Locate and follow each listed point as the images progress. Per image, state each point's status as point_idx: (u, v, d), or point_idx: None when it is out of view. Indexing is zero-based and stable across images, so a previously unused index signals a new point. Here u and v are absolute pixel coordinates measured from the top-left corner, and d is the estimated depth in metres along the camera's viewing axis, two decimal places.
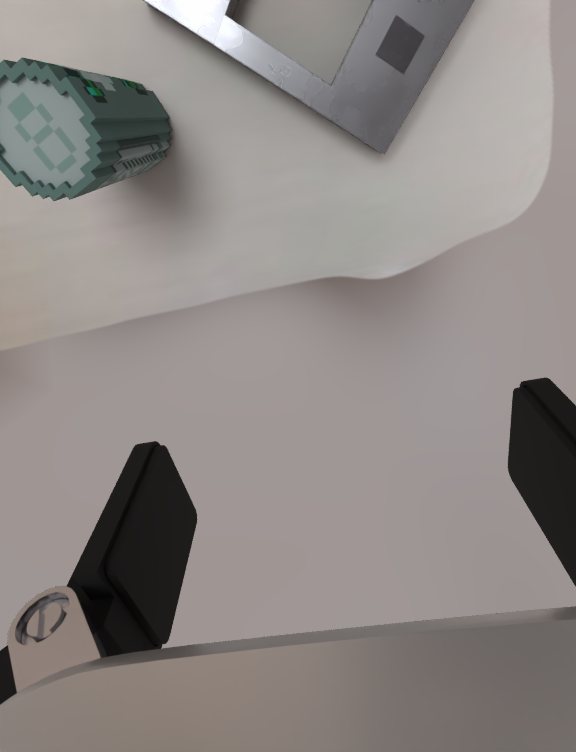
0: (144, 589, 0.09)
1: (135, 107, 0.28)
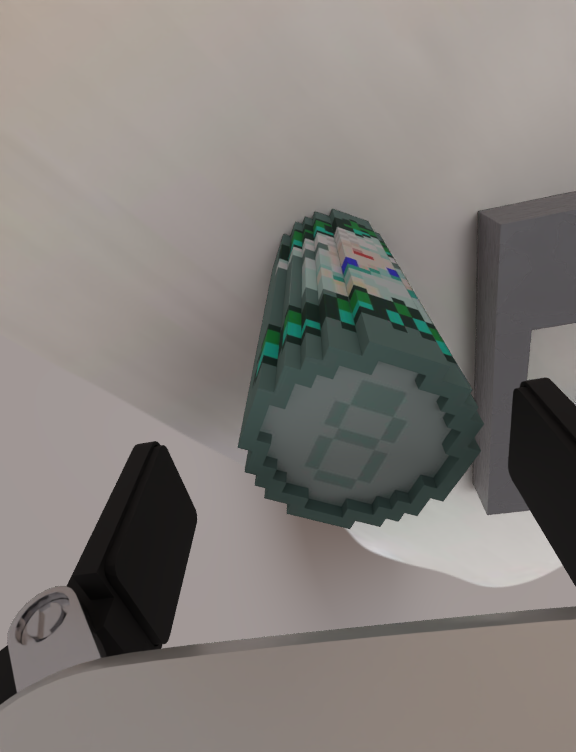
0: (144, 589, 0.09)
1: None
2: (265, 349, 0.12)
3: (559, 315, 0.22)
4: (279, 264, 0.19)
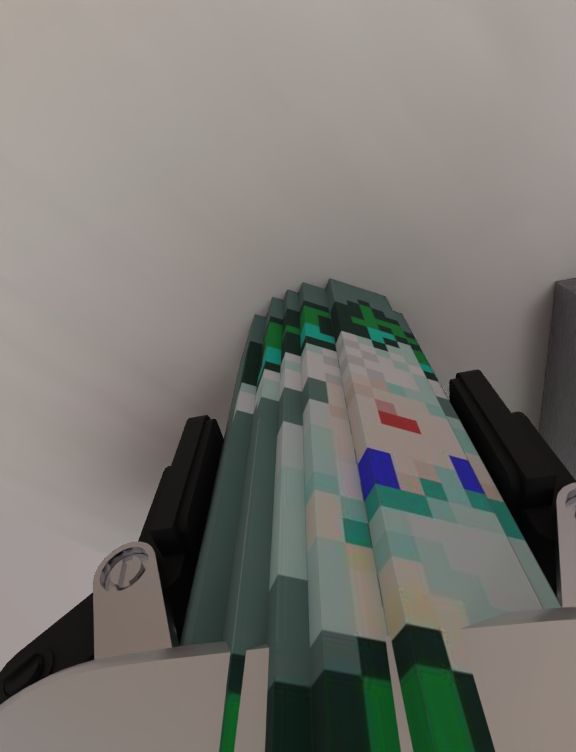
0: None
1: None
2: None
3: None
4: (240, 400, 0.10)
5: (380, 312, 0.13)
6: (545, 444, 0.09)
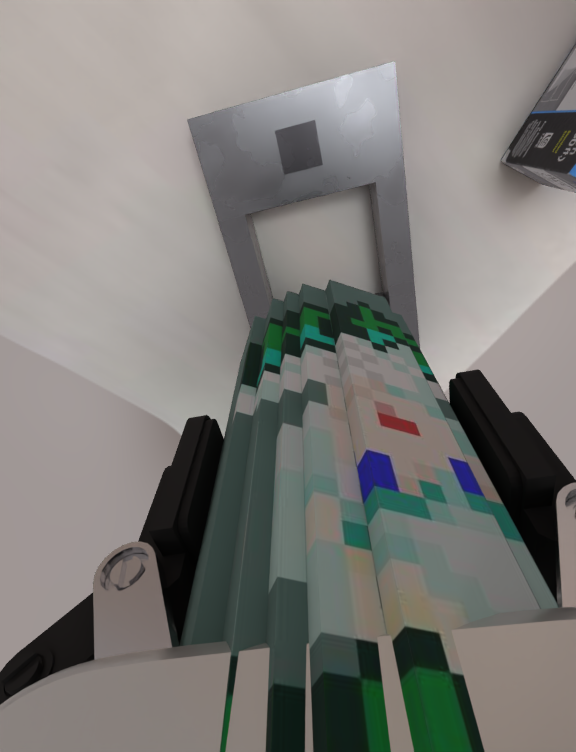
0: None
1: None
2: None
3: (262, 200, 0.27)
4: (239, 402, 0.10)
5: (380, 313, 0.13)
6: (545, 444, 0.09)
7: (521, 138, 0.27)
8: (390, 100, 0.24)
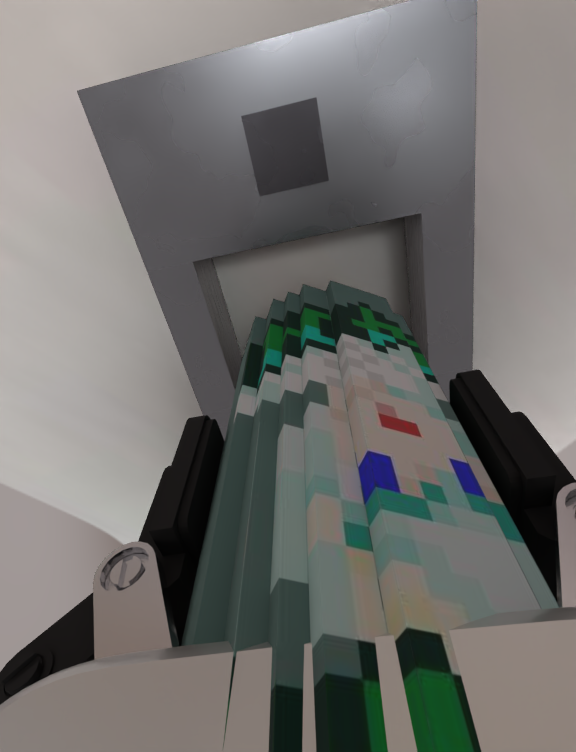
0: None
1: None
2: None
3: (221, 239, 0.15)
4: (240, 403, 0.10)
5: (380, 314, 0.13)
6: (545, 444, 0.09)
7: None
8: (461, 63, 0.13)
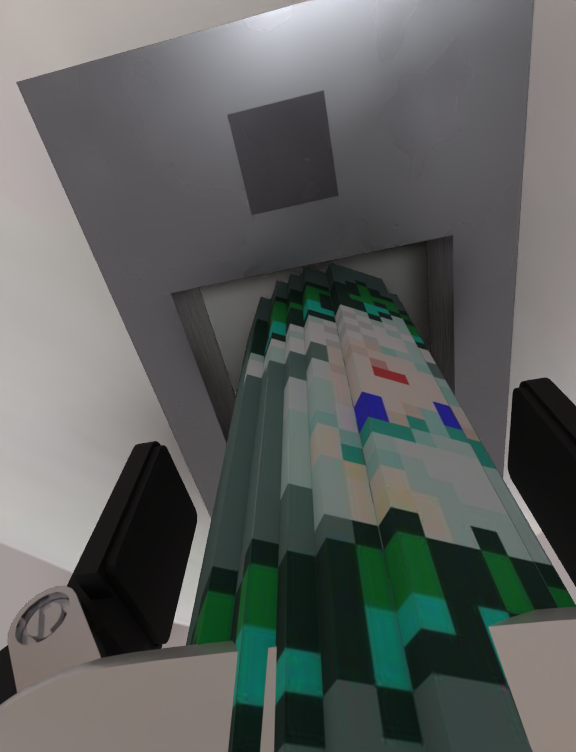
0: (144, 589, 0.09)
1: None
2: None
3: (205, 266, 0.13)
4: (249, 367, 0.12)
5: (376, 291, 0.14)
6: None
7: None
8: (511, 45, 0.10)
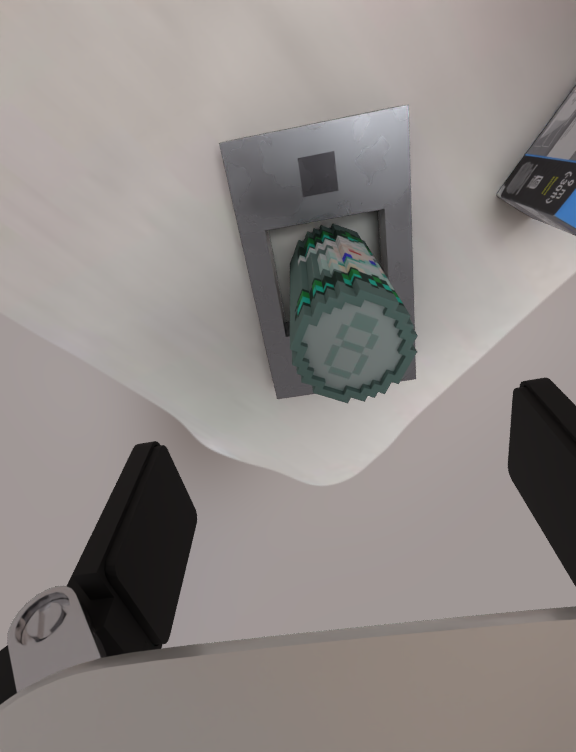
0: (144, 589, 0.09)
1: None
2: (303, 299, 0.22)
3: (281, 218, 0.30)
4: (300, 258, 0.29)
5: (353, 235, 0.31)
6: None
7: (515, 177, 0.30)
8: (402, 138, 0.27)
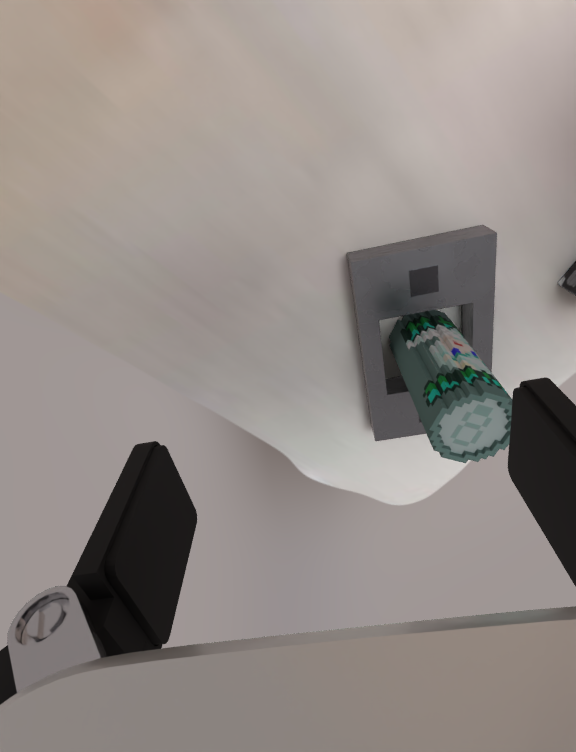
0: (144, 589, 0.09)
1: None
2: (435, 392, 0.31)
3: (392, 311, 0.39)
4: (410, 343, 0.38)
5: (445, 318, 0.40)
6: None
7: (574, 273, 0.39)
8: (490, 254, 0.36)
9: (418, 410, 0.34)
